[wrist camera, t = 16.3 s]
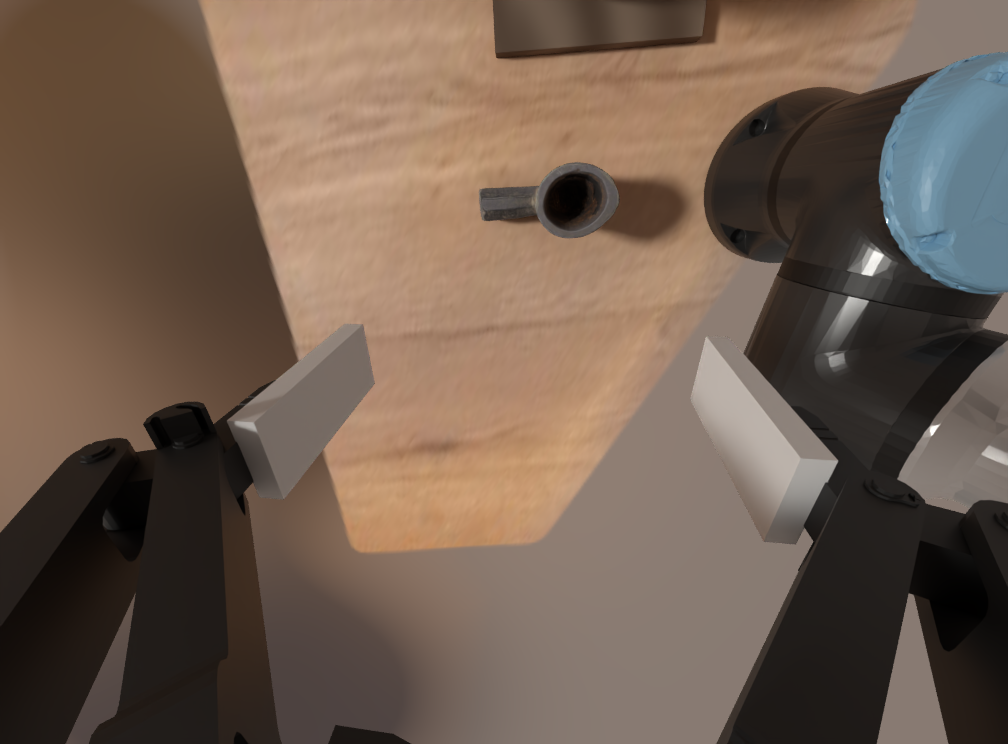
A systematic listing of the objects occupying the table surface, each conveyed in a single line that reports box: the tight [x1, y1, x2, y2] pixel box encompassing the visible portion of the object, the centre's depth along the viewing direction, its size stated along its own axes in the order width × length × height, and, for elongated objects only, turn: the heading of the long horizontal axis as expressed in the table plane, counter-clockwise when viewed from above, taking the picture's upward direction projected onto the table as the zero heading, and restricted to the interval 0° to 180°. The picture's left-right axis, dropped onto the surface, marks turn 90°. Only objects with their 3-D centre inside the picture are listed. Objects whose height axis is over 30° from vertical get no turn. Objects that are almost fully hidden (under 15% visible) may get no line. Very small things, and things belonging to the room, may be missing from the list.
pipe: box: [479, 162, 620, 238], centre depth 39 cm, size 6×13×8 cm, turn 95°
